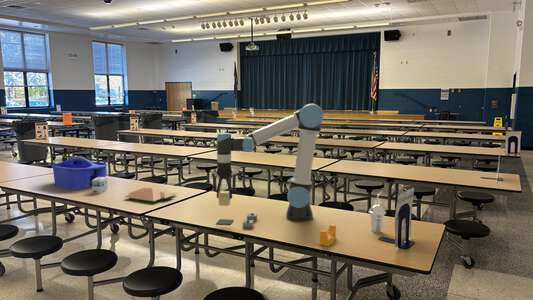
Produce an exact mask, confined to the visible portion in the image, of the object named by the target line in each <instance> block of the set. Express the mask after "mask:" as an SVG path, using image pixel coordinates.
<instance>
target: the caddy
mask: <svg viewBox="0 0 533 300" xmlns="http://www.w3.org/2000/svg"><path fill="white" fill-rule="evenodd" d="M107 166H108V163H106V162H102V161H101V162H100V161H99V162H98V161H92V160H90V159H87V158H85V157H83V156H80V155H79V156H78V155H76V156H73V157H71V158H68V159H67V160H65V161H64V160H63V161H60V162H57V163H56V162H55V163H53V164H52V165H51V168H52V171H53V173H52V174H53V179H54V185H55V187H57V186H59V187H58V188H62V187H64V188H63V189H67V188H69V189H68V190H86V188H87V189H89V188H90V187H91V185H92V180H93V179H95V178H98V177H107V175H106V174H107Z"/></svg>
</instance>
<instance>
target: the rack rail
mask: <svg viewBox="0 0 533 300" xmlns="http://www.w3.org/2000/svg"><path fill="white" fill-rule="evenodd" d="M257 220H258V214H257V213H252V212H251V213H247V216H246V219H244V220H243V221H242V229H253V228H254V226H255V225H254V223H256V222H257Z"/></svg>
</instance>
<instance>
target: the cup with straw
mask: <svg viewBox="0 0 533 300" xmlns="http://www.w3.org/2000/svg"><path fill="white" fill-rule="evenodd" d="M382 193H383V190H381V191H380V192H379V193H378V194H377V196H376V204H373V205H372V206H371V207H370V208H369V209H368V214H369V217H370V224H371V225H370V227H371V232H372V233H375V234H377V233H381V232H382V227H383V221H384V217H385V215H386V214H387V212H386V210H385V209H384V207H383V206H382V205H381V204H379V197H380V195H381V194H382Z"/></svg>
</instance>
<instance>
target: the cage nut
mask: <svg viewBox="0 0 533 300" xmlns="http://www.w3.org/2000/svg"><path fill="white" fill-rule="evenodd" d="M228 193H229V190H220V193H219V198H218V205H219V206H222V207H228V206H229V205H228Z"/></svg>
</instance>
